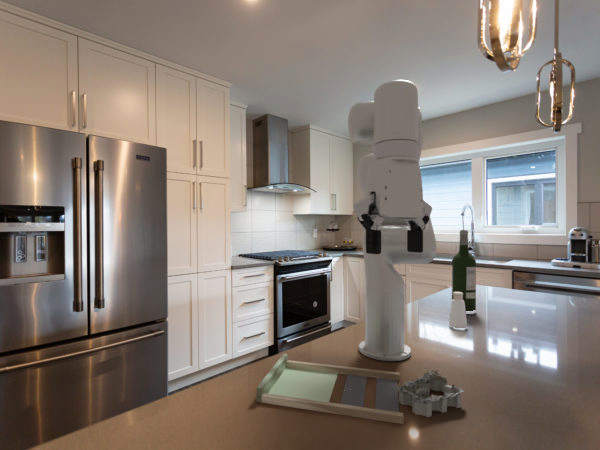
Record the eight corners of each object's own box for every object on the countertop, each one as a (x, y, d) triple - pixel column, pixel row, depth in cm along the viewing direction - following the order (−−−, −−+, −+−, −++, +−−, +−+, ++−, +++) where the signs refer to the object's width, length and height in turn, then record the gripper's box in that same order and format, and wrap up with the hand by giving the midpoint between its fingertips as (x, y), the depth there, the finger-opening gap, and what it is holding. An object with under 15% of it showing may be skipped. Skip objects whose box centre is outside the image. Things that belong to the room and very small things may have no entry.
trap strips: (347, 375, 69) (347, 374, 69) (396, 381, 66) (396, 380, 66) (338, 411, 55) (338, 410, 55) (399, 421, 53) (399, 419, 53)
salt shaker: (453, 330, 98) (453, 294, 98) (445, 325, 104) (445, 290, 104) (471, 330, 98) (471, 294, 98) (462, 325, 104) (462, 290, 104)
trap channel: (283, 364, 74) (283, 353, 74) (399, 378, 67) (399, 366, 67) (256, 401, 58) (256, 387, 58) (403, 424, 52) (403, 408, 52)
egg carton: (438, 389, 64) (438, 368, 64) (470, 409, 56) (470, 385, 57) (391, 398, 60) (392, 376, 60) (420, 421, 53) (420, 396, 53)
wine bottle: (475, 316, 114) (475, 230, 114) (450, 312, 118) (451, 230, 118) (476, 311, 121) (476, 230, 121) (452, 308, 125) (453, 230, 125)
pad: (286, 368, 72) (286, 367, 72) (338, 374, 69) (338, 373, 69) (263, 400, 59) (263, 399, 59) (326, 410, 56) (326, 408, 56)
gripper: (414, 164, 65) (414, 250, 65) (342, 154, 57) (341, 252, 57) (446, 156, 58) (446, 252, 58) (370, 144, 50) (370, 256, 50)
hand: (394, 252), depth 57 cm, fingers open, 9 cm apart
